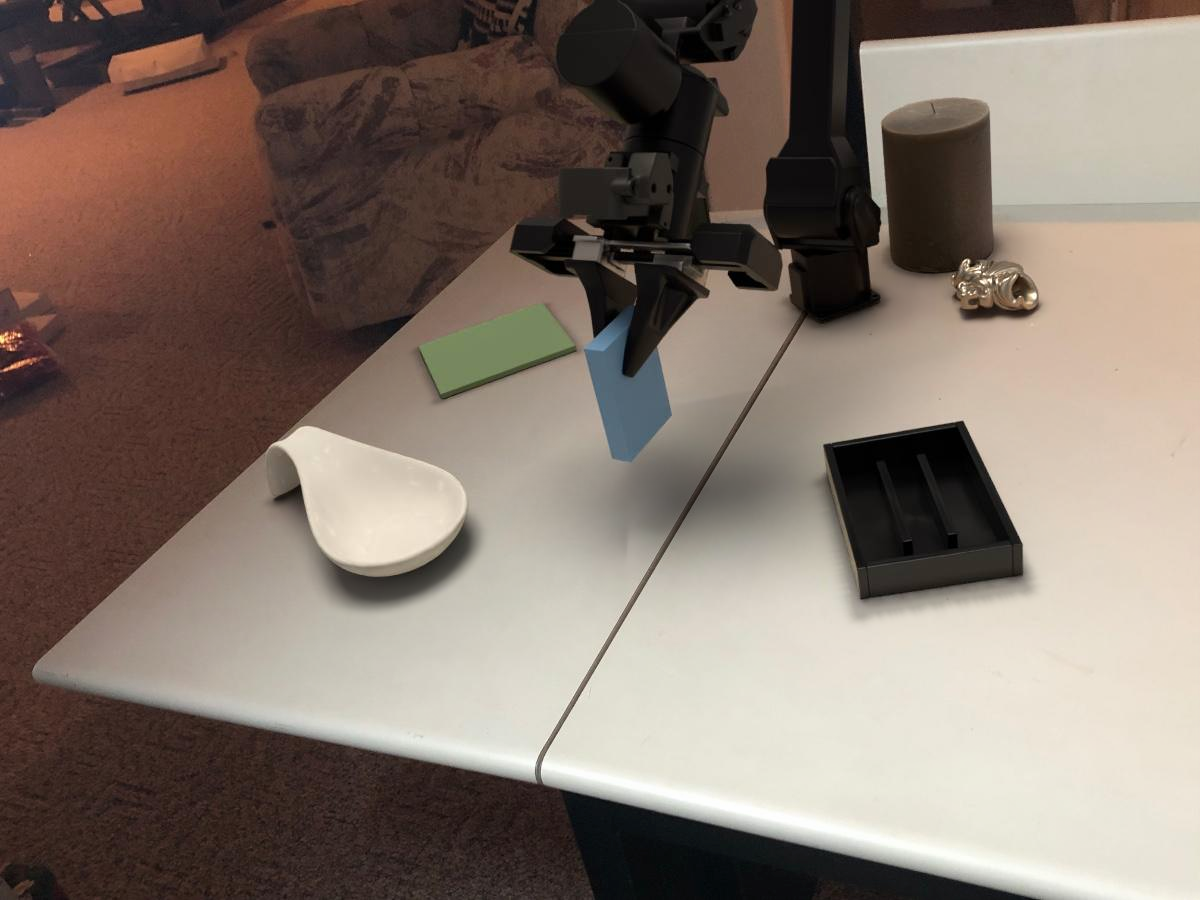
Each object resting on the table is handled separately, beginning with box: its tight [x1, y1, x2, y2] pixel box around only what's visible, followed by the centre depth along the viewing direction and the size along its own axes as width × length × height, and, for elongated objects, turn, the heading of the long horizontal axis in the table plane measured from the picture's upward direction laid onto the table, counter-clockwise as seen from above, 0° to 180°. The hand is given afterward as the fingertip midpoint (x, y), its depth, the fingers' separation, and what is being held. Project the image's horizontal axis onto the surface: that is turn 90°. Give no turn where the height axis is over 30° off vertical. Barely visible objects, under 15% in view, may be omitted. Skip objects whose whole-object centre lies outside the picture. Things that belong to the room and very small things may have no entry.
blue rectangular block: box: [583, 304, 673, 463], centre depth 75 cm, size 6×2×9 cm, turn 148°
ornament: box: [950, 259, 1040, 312], centre depth 95 cm, size 8×7×4 cm
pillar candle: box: [880, 96, 994, 273], centre depth 103 cm, size 10×10×15 cm
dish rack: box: [822, 420, 1024, 600], centre depth 73 cm, size 14×10×4 cm
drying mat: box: [418, 301, 577, 400], centre depth 110 cm, size 14×12×1 cm
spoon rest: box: [264, 425, 470, 578], centre depth 87 cm, size 24×12×7 cm, turn 46°
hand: (615, 374), depth 73 cm, fingers closed on blue rectangular block, 2 cm apart
